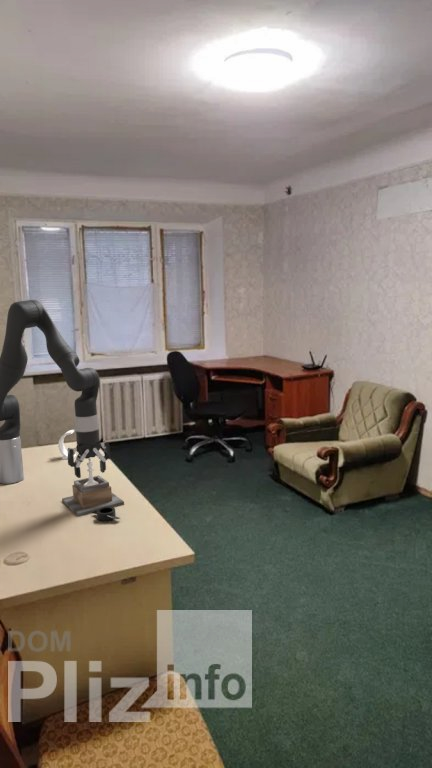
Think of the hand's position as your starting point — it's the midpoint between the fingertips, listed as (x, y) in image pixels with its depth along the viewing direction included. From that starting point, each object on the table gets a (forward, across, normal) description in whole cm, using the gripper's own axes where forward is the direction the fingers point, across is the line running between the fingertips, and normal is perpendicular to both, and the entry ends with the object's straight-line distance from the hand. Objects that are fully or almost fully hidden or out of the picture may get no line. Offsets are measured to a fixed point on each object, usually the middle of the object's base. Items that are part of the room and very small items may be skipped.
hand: (90, 474), depth 182 cm
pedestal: (+10, 0, 0) cm, 10 cm away
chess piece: (+4, 0, 0) cm, 4 cm away
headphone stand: (+10, -10, -56) cm, 58 cm away
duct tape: (+11, +1, +15) cm, 18 cm away
